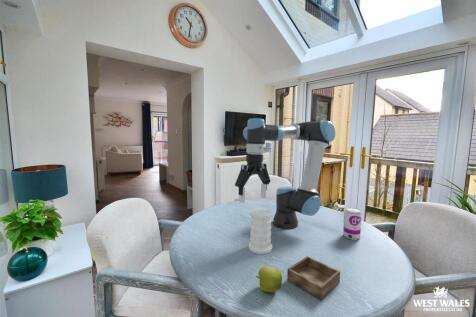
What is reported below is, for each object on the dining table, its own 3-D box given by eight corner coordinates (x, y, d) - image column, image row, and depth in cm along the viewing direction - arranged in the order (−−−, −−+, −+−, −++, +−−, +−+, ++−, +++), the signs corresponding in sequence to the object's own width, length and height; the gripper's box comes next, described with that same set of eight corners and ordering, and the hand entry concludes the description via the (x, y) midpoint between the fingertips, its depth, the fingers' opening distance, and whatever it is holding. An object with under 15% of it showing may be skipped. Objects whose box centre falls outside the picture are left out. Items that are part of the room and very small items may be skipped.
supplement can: (362, 241, 113) (364, 213, 112) (345, 239, 115) (346, 212, 113) (357, 234, 121) (358, 208, 119) (341, 232, 123) (342, 207, 121)
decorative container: (274, 244, 110) (275, 209, 108) (270, 256, 99) (270, 217, 97) (252, 240, 114) (252, 207, 112) (245, 251, 103) (245, 214, 101)
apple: (255, 281, 81) (255, 261, 80) (279, 282, 81) (280, 262, 80) (256, 297, 74) (256, 275, 73) (283, 298, 73) (283, 275, 72)
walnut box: (287, 280, 82) (287, 268, 82) (307, 266, 91) (307, 256, 91) (320, 300, 72) (321, 287, 72) (339, 282, 81) (340, 271, 80)
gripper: (239, 154, 87) (237, 206, 88) (279, 153, 103) (277, 197, 105) (227, 153, 92) (226, 202, 94) (267, 152, 108) (265, 194, 110)
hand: (253, 199), depth 99 cm, fingers open, 13 cm apart
